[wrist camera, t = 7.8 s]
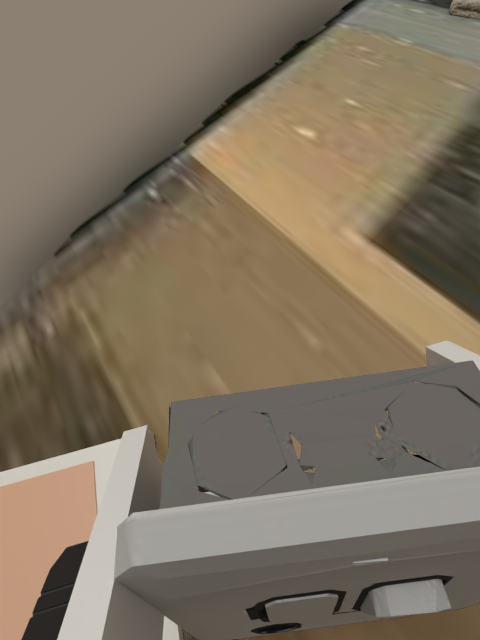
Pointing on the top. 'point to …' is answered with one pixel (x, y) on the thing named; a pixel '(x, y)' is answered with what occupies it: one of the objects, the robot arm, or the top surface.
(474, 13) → the washcloth
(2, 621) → the mounting plate
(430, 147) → the top surface
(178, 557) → the electrical switch
